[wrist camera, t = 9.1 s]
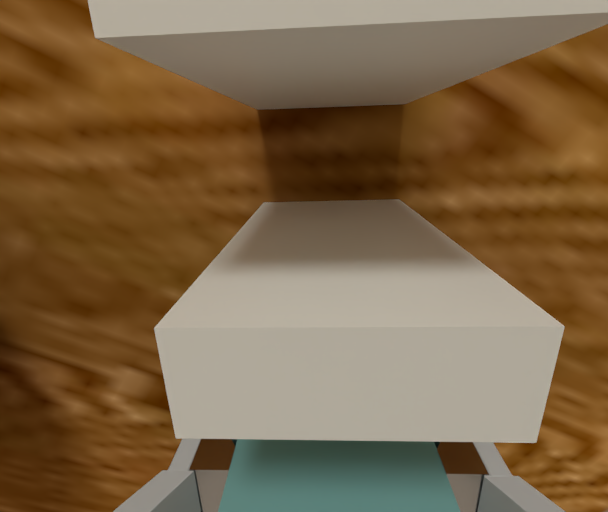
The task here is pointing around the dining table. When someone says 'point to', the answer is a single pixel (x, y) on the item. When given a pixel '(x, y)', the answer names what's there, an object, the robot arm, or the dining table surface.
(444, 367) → the domino
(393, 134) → the dining table surface
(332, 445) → the teal rectangular block
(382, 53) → the domino
